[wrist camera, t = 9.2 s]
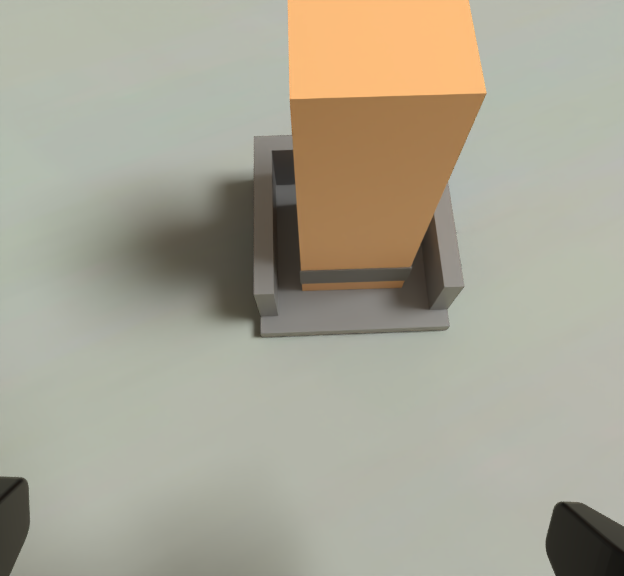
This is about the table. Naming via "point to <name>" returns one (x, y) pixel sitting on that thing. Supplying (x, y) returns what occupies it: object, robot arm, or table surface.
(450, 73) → the plug
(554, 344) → the table surface
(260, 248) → the holder
